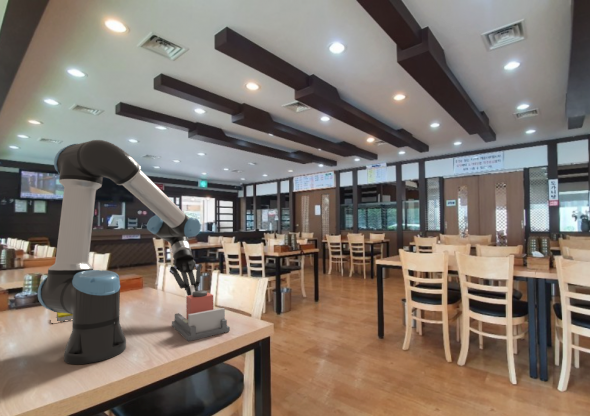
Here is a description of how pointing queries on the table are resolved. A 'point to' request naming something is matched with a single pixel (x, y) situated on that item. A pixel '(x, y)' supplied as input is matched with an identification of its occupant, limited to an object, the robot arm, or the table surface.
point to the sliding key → (199, 302)
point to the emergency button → (64, 316)
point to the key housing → (201, 324)
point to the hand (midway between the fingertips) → (194, 301)
